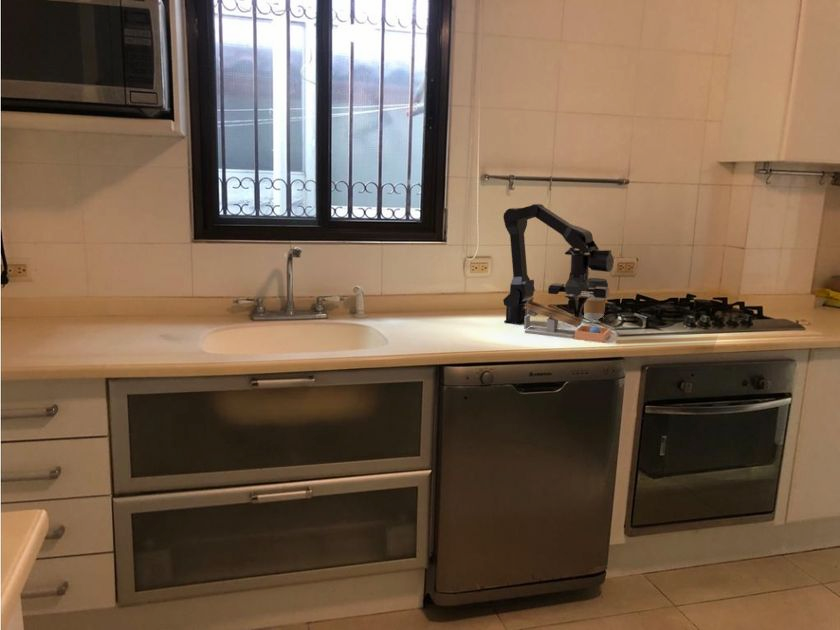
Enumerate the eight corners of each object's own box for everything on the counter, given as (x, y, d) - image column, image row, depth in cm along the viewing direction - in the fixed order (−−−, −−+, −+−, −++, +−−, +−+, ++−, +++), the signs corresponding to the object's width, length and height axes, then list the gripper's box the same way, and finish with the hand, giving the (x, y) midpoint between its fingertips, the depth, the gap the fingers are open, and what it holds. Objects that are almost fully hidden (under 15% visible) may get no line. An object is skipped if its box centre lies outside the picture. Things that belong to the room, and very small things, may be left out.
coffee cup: (606, 324, 227) (609, 282, 224) (581, 323, 229) (584, 281, 225) (604, 319, 235) (607, 278, 232) (581, 318, 237) (583, 277, 233)
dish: (574, 339, 207) (574, 331, 206) (581, 333, 215) (582, 325, 214) (604, 342, 202) (604, 334, 202) (610, 336, 210) (610, 328, 210)
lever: (523, 313, 215) (527, 299, 214) (532, 307, 224) (536, 294, 222) (575, 331, 208) (579, 317, 207) (583, 325, 217) (587, 312, 215)
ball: (590, 326, 207) (600, 329, 205) (592, 324, 209) (602, 327, 208) (587, 335, 208) (596, 339, 206) (589, 333, 210) (599, 336, 209)
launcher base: (522, 332, 215) (522, 317, 214) (529, 327, 222) (530, 313, 221) (573, 338, 207) (573, 323, 206) (579, 333, 214) (580, 318, 213)
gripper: (544, 270, 209) (542, 318, 212) (603, 274, 201) (600, 324, 204) (554, 266, 219) (552, 312, 222) (610, 269, 210) (608, 317, 214)
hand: (577, 316), depth 215 cm, fingers closed
